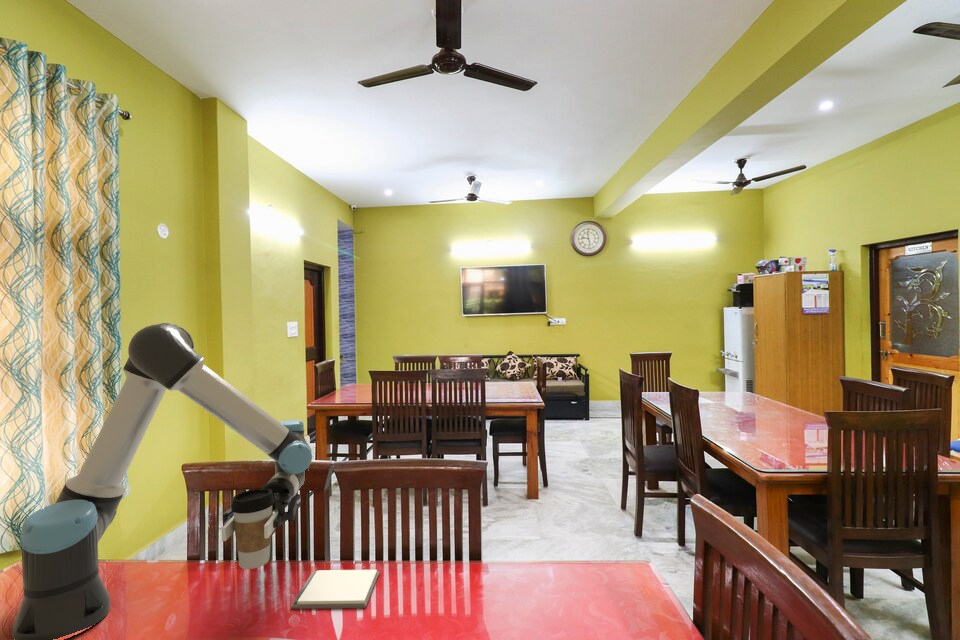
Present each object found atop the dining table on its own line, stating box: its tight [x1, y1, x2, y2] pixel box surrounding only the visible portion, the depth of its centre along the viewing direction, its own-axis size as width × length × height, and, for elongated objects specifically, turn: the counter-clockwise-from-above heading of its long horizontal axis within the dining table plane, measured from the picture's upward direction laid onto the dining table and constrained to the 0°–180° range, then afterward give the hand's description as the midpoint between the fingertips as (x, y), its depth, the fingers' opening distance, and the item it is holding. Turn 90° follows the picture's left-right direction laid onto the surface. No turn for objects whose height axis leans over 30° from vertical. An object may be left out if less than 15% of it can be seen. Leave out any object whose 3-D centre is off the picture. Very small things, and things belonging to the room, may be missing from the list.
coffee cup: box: [230, 488, 274, 570], centre depth 102 cm, size 8×8×15 cm
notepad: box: [290, 569, 380, 610], centre depth 107 cm, size 16×13×1 cm
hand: (245, 533), depth 98 cm, fingers closed on coffee cup, 8 cm apart
